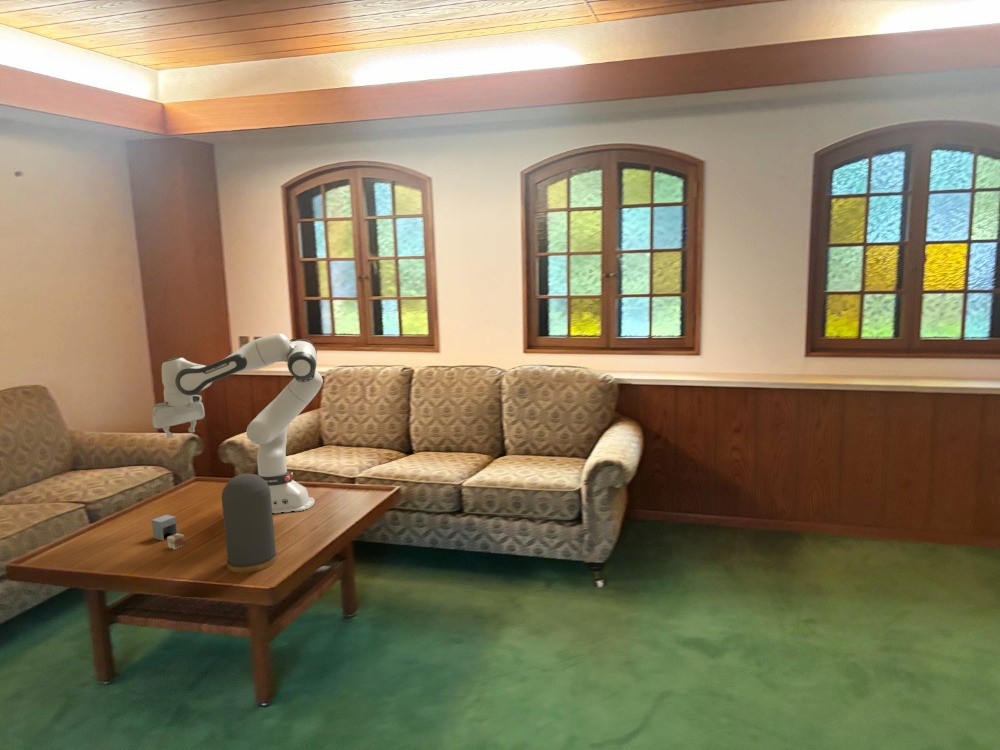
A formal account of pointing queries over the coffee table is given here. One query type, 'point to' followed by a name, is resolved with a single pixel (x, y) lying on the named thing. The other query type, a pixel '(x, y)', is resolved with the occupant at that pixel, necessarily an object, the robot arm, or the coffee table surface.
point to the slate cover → (164, 526)
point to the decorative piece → (248, 524)
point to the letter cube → (176, 541)
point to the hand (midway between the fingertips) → (181, 434)
